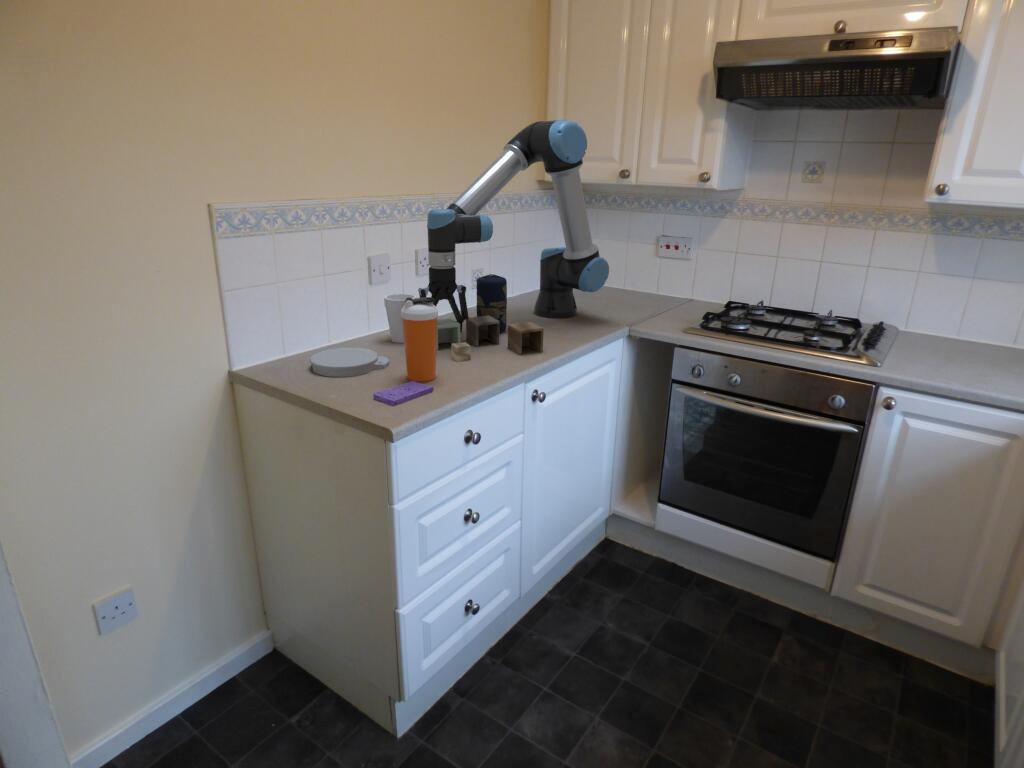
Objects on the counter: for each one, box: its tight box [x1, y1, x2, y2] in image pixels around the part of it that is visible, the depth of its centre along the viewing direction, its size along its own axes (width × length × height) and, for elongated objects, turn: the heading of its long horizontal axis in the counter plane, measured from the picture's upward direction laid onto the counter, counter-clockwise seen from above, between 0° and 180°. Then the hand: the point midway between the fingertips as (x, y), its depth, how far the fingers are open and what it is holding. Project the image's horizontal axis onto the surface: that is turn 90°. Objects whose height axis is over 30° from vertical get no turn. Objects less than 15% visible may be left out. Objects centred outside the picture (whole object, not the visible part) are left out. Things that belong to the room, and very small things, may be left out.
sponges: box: [372, 380, 434, 407], centre depth 150 cm, size 7×13×2 cm, turn 142°
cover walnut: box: [507, 321, 544, 356], centre depth 185 cm, size 8×8×7 cm
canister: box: [476, 273, 508, 333], centre depth 202 cm, size 10×10×18 cm
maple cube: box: [450, 341, 472, 362], centre depth 177 cm, size 4×4×4 cm
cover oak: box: [465, 316, 501, 348], centre depth 191 cm, size 8×8×7 cm
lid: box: [309, 347, 390, 378], centre depth 169 cm, size 17×20×3 cm
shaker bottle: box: [401, 296, 439, 383], centre depth 158 cm, size 9×9×20 cm
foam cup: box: [383, 293, 418, 344], centre depth 192 cm, size 10×9×13 cm
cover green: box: [436, 317, 461, 352], centre depth 187 cm, size 8×8×7 cm
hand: (443, 345), depth 188 cm, fingers closed on cover green, 7 cm apart
